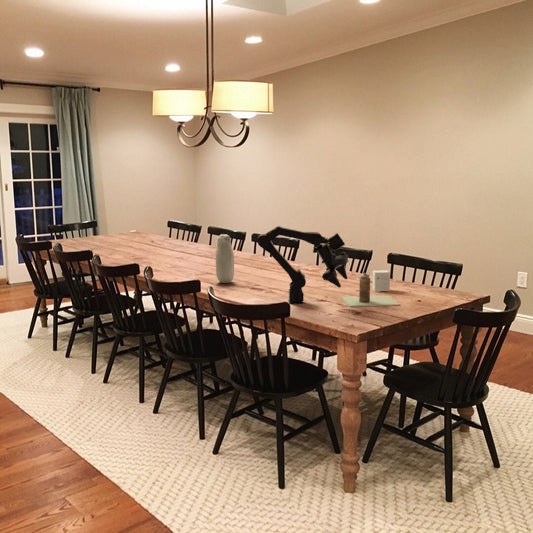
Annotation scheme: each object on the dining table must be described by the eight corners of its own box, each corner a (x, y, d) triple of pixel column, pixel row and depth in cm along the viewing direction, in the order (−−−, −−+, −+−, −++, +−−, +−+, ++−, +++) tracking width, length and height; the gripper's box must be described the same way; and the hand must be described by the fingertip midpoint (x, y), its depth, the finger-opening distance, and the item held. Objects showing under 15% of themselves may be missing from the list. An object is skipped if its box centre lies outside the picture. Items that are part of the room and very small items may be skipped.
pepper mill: (363, 303, 261) (364, 274, 259) (357, 301, 266) (357, 272, 263) (371, 302, 264) (372, 273, 261) (365, 299, 268) (365, 271, 266)
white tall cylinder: (237, 282, 316) (236, 233, 311) (226, 285, 308) (225, 235, 303) (224, 280, 322) (222, 232, 317) (212, 283, 314) (211, 234, 309)
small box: (387, 289, 293) (387, 270, 292) (389, 291, 288) (390, 272, 286) (372, 289, 293) (372, 270, 291) (374, 292, 288) (375, 272, 286)
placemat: (349, 306, 257) (349, 305, 257) (341, 298, 275) (341, 296, 275) (399, 305, 259) (399, 304, 259) (388, 296, 277) (388, 295, 277)
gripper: (333, 257, 251) (350, 285, 253) (346, 242, 266) (363, 269, 268) (314, 266, 257) (331, 293, 259) (328, 250, 272) (344, 277, 274)
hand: (343, 283), depth 265 cm, fingers open, 9 cm apart
